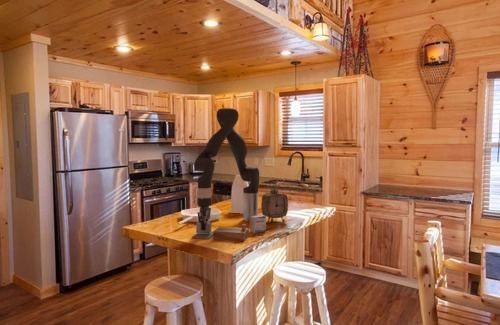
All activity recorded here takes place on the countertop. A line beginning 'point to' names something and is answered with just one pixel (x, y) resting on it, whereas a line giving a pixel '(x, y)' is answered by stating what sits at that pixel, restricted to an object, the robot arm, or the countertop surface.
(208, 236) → the rubber mat
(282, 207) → the tabletop clock
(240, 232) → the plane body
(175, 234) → the countertop surface
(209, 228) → the lever cap
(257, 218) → the medicine box
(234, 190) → the milk
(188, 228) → the countertop surface
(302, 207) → the countertop surface
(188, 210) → the pan
